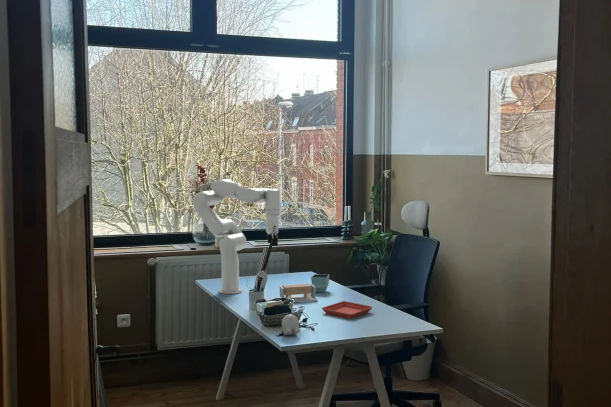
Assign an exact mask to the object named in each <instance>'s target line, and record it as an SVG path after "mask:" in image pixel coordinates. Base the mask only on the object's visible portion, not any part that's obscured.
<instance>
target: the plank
mask: <svg viewBox="0 0 611 407" xmlns="http://www.w3.org/2000/svg"><path fill="white" fill-rule="evenodd" d="M310 285H311V284H309V283H296V284H284V285H281V286H282V287H283V288H284V296H285V295H304V294H310V293H311V286H310Z"/></svg>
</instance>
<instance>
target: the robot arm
mask: <svg viewBox="0 0 611 407" xmlns="http://www.w3.org/2000/svg"><path fill="white" fill-rule="evenodd" d="M280 194H281V192H280V190H279V189H278V188H265V187H259V188H249V187H243V185H242V184H241V183H240V182H234V181H233V180H231V179H229V178H228V179H227V178H223V179H222V178H221V179H217V180H215V181H213V183H212V184H211V190H203V191H199V192H197V193H196V194H195V196H194V197H193V200H192V201H193V202H192V204H193V206H192V207H193V210H194V211H195V213H196V214H197V215H198V216H199V218H200V219H201V220H202V221H203V222H204V224H205V226H206V227H207V228H208V230H209V231H210V232H211V234H212V235H213V236H214V237H217V238H221V237H222V238H221V239H220V241H219V250H220V257H221V259H220V260H221V262H220V263H221V288H220V289H218V292H219V293H220V294H224V295H225V294H226V295H234V294H240V293H242V291H243V289H242V288H240V262H239V261H240V259H239V255H238V252H237V251H241V250H243V249H244V248H246V246H247V238H246V236H245V235H244V233H243V232H242V230H241V229H240V228H239V227H238V225H237V223H235V222H234V220H232V219H230V218H221V217H220V215H218V213H217V212H216V211H215V210H214V209H213V208H211V207H210V206H216V205H218V204H220V203H222V202H223V201H224V200H225V199H228V198H230V199H231V198H232V199H236V200H238V201H240V202H244V203H250V204H259V203H265V204H264V205H265V212H264V213H265V216H266V217H265V218H266V219H265V232H266V233H267V244H271V247H272V246H275V247H276V246H277V247H278V245H279V241H278V240H279V237H278V234H279V216H280V213H281V211H280V210H281V209H280V204H281V201H280V200H281V199H280V198H281V197H280ZM271 240H273V242H272V243H271Z"/></svg>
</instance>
